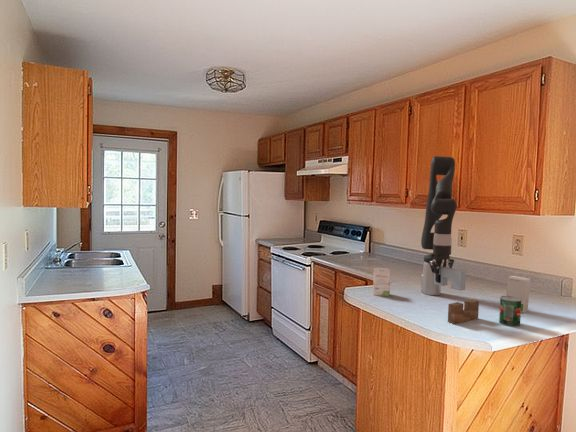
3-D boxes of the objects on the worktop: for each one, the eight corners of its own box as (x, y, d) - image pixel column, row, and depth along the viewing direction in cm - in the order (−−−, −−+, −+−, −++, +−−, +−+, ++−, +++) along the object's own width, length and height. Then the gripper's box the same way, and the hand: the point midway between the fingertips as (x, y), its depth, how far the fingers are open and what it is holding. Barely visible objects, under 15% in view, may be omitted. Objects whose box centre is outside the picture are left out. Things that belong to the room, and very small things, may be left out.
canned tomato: (523, 327, 166) (524, 301, 165) (502, 326, 167) (503, 300, 167) (515, 321, 174) (517, 296, 173) (496, 320, 175) (497, 295, 174)
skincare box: (504, 309, 191) (506, 277, 190) (509, 306, 195) (511, 275, 194) (524, 313, 185) (526, 280, 184) (529, 310, 189) (530, 278, 188)
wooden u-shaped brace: (447, 322, 172) (448, 303, 171) (472, 316, 179) (472, 299, 179) (453, 324, 169) (454, 305, 168) (478, 318, 177) (478, 300, 176)
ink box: (389, 294, 217) (390, 266, 216) (389, 296, 212) (390, 268, 211) (373, 292, 219) (374, 265, 218) (372, 295, 215) (373, 267, 214)
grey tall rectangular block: (434, 283, 181) (434, 266, 181) (438, 282, 183) (439, 265, 182) (460, 290, 169) (460, 271, 168) (465, 289, 170) (465, 271, 170)
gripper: (446, 241, 185) (445, 278, 186) (424, 243, 179) (423, 281, 180) (460, 243, 179) (458, 282, 180) (437, 245, 172) (436, 285, 173)
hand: (440, 281), depth 180 cm, fingers closed on grey tall rectangular block, 3 cm apart
